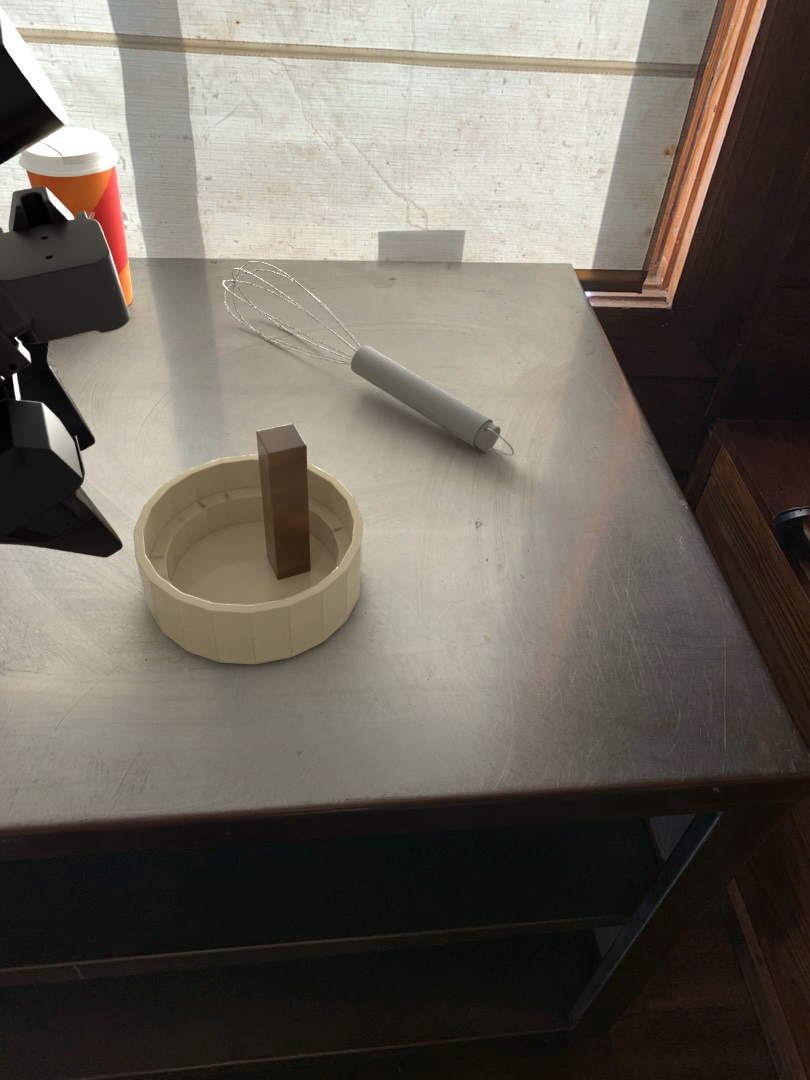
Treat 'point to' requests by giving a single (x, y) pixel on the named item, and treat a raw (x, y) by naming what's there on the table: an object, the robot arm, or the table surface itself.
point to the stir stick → (285, 499)
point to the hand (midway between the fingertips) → (100, 494)
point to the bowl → (244, 564)
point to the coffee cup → (83, 185)
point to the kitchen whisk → (393, 378)
